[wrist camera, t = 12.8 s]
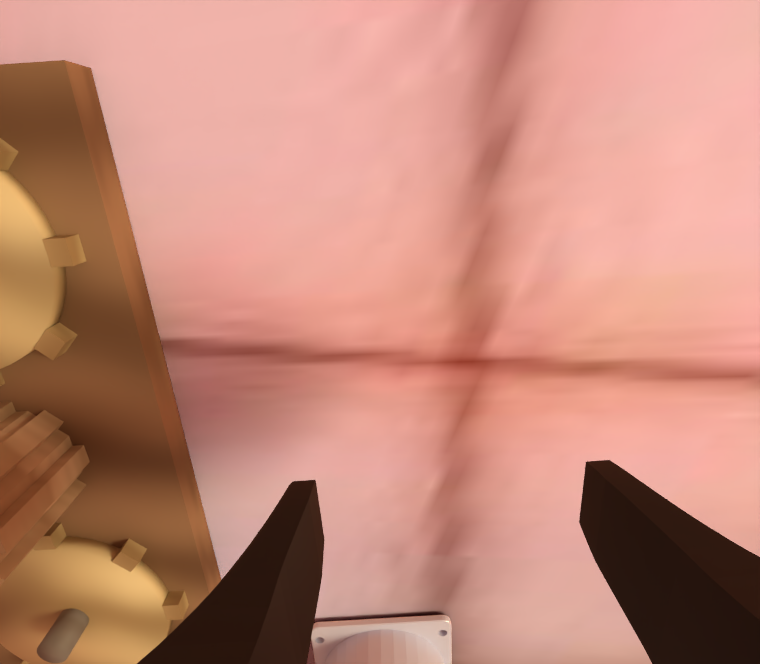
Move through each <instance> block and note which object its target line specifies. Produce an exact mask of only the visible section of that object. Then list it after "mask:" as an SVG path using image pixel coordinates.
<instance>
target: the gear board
mask: <svg viewBox="0 0 760 664" xmlns="http://www.w3.org/2000/svg"><path fill="white" fill-rule="evenodd" d="M9 401H12V403H13V406H14V408H15V411H16V412H19V411H29V412H30V413H32V414H34V415H35V416H37V415H38V414H40V413H41V412H42V411H44V410H45V411H47V412H49V413H50V414H52V415H53V416H55V417H57V418H58V419H60V420H62V421H63V424H62V425H61V426H60V428H59V429H58V430H60V431H62V432H63V433H65V434H67V435H68V436H69V437H70V440H71V443H72V446H75V445H84V447H85V450H86V452H87V455H88V458H89V461H90V462H89V463H88V465H87V466H86V467H85V468H84V469H83V470H82V473H81V474H80V475H79V476H78V478H77V479H78V480H79V481H81V482H83V483H85V484H86V486H85V487H84V489H83V490H82V491H81V492H80V494H79V495H78V496H77V497H76V498H75V500H74V501H73V502H72V503H71V504H70V505H69V507H68V508H67V509H66V510H65V511H64V512H63V514H62V515H61V516H60V517H59V518H58V519H57V521H56V522H55V523H54V524H53V525H52V526H51V528H50V529H49V530H48V531H47V532H46V533H45V535H44V536H43V537H42V538H41V539H40V540H39V542H38V543H37V544H36V545H35V546H34V547H33V549H32V550H31V551H30V552H29V553H28V554H27V555H26V557H25V558H24V559H23V560H22V561H21V562H20V564H19V565H18V566H17V567H16V568H15V569H14V571H13V572H12V573H11V574H10V575H9V576H8V578H7V579H6V580H5V581H4V582H3V583H2V585H1V586H0V664H137V663H138V662H139V661H140V660H141V659H143V658H144V657H145V656H146V655H147V654H148V653H150V652H151V651H152V650H153V649H154V648H155V647H157V646H158V645H159V644H160V643H161V642H162V641H163V640H164V639H165V638H166V637H167V636H168V635H169V634H170V633H172V632H173V631H174V630H175V629H176V628H177V627H178V626H179V625H180V624H181V623H182V622H183V621H184V620H185V619H186V618H187V617H188V616H189V615H190V614H191V613H192V612H193V611H194V610H195V609H196V608H197V607H198V606H199V604H200V603H201V602H202V601H203V600H204V599H205V598H206V597H207V596H208V595H209V594H210V593H211V591H212V590H213V589H214V588H215V587H216V586H217V585H218V584H219V582H220V581H221V577H220V573H219V569H218V565H217V561H216V558H215V554H214V550H213V546H212V542H211V538H210V534H209V530H208V526H207V522H206V518H205V514H204V510H203V507H202V503H201V499H200V495H199V491H198V487H197V483H196V479H195V475H194V471H193V467H192V463H191V459H190V456H189V452H188V448H187V444H186V440H185V436H184V432H183V428H182V424H181V420H180V416H179V412H178V408H177V405H176V401H175V397H174V393H173V389H172V385H171V381H170V377H169V373H168V369H167V365H166V361H165V357H164V354H163V350H162V346H161V342H160V338H159V334H158V330H157V326H156V322H155V318H154V314H153V310H152V306H151V303H150V299H149V295H148V291H147V287H146V283H145V279H144V275H143V271H142V267H141V263H140V259H139V255H138V252H137V248H136V244H135V240H134V236H133V232H132V228H131V224H130V220H129V216H128V212H127V208H126V204H125V200H124V197H123V193H122V189H121V185H120V181H119V177H118V173H117V169H116V165H115V161H114V157H113V153H112V149H111V146H110V142H109V138H108V134H107V130H106V126H105V122H104V118H103V114H102V110H101V106H100V102H99V98H98V95H97V91H96V87H95V83H94V79H93V75H92V71H91V68H88V67H85V66H82V65H78V64H75V63H72V62H68V61H65V60H61V61H47V62H32V63H18V64H3V65H0V402H9Z"/></svg>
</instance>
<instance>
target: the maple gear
mask: <svg viewBox="0 0 760 664" xmlns="http://www.w3.org/2000/svg"><path fill="white" fill-rule="evenodd" d="M62 424H63V421H62V420H60V419H58V418H57V417H55V416H53V415H52V414H50V413H49V412H47V411H45V410H44V411H42V412H41V413H40V414H38V415H37V416H35V415H34V414H32V413H30V412H29V411H19V412H16V411H15V408H14V406H13V403H12V401H9V402H0V586H1V585H2V583H3V582H4V581H5V580H6V579H7V578H8V576H9V575H10V574H11V573H12V572H13V571H14V569H15V568H16V567H17V566H18V565H19V564H20V562H21V561H22V560H23V559H24V558H25V557H26V555H27V554H28V553H29V552H30V551H31V550H32V549H33V547H34V546H35V545H36V544H37V543H38V542H39V540H40V539H41V538H42V537H43V536H44V535H45V533H46V532H47V531H48V530H49V529H50V528H51V526H52V525H53V524H54V523H55V522H56V521H57V519H58V518H59V517H60V516H61V515H62V514H63V512H64V511H65V510H66V509H67V508H68V507H69V505H70V504H71V503H72V502H73V501H74V500H75V498H76V497H77V496H78V495H79V494H80V492H81V491H82V490H83V489H84V487H85V486H86V484H85V483H83V482H81V481H79V480H78V479H77V478H78V476H79V475H80V474H81V473H82V470H83V469H84V468H85V467H86V466H87V465H88V463H89V462H90V461H89V458H88V455H87V452H86V450H85V447H84V445H75V446H72V443H71V440H70V437H69V436H68V435H67V434H65V433H63V432H62V431H60V430H58V429H59V428H60V426H61V425H62Z"/></svg>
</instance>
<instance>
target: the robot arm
mask: <svg viewBox="0 0 760 664" xmlns="http://www.w3.org/2000/svg"><path fill="white" fill-rule="evenodd" d="M579 523H580V525H581V528H582V530H583V533H584V535H585V538H586V540H587V543H588V545H589V548H590V550H591V552H592V554H593V557H594V559H595V561H596V563H597V565H598V567H599V569H600V570H601V572H602V574H603V576H604V578H605V579H606V581H607V583H608V585H609V587H610V588H611V590H612V592H613V594H614V595H615V597H616V599H617V601H618V602H619V604H620V606H621V608H622V610H623V611H624V613H625V615H626V617H627V618H628V620H629V622H630V624H631V625H632V627H633V629H634V631H635V632H636V634H637V636H638V638H639V640H640V641H641V643H642V645H643V647H644V648H645V650H646V652H647V654H648V656H649V658H650V660H651V662H652V664H760V557H759V556H757V555H755V554H753V553H751V552H749V551H748V550H746V549H744V548H742V547H741V546H739V545H737V544H735V543H734V542H732V541H730V540H729V539H727V538H726V537H724V536H722V535H721V534H719V533H717V532H716V531H714V530H713V529H711V528H709V527H708V526H706V525H704V524H703V523H701V522H700V521H698V520H697V519H695V518H694V517H692V516H690V515H689V514H687V513H686V512H684V511H683V510H681V509H680V508H678V507H677V506H675V505H674V504H672V503H671V502H669V501H668V500H667V499H665V498H664V497H662V496H661V495H659V494H658V493H656V492H655V491H654V490H652V489H651V488H649V487H648V486H646V485H645V484H644V483H642V482H641V481H639V480H638V479H636V478H635V477H634V476H632V475H631V474H629V473H628V472H626V471H625V470H623V469H622V468H621V467H619V466H618V465H616V464H614V463H613V462H611V461H610V460H604V461H590V462H586V467H585V476H584V485H583V494H582V503H581V511H580V520H579ZM323 551H324V534H323V528H322V521H321V514H320V507H319V501H318V494H317V487H316V481H315V480H308V481H294V482H292V483H291V484H290V485H289V486H288V488H287V490H286V491H285V493H284V495H283V496H282V498H281V499H280V501H279V503H278V504H277V506H276V507H275V509H274V510H273V512H272V513H271V515H270V516H269V518H268V519H267V521H266V522H265V524H264V525H263V527H262V528H261V529H260V531H259V532H258V534H257V535H256V537H255V538H254V539H253V541H252V542H251V543H250V545H249V546H248V548H247V549H246V550H245V551H244V553H243V554H242V555H241V556H240V558H239V559H238V560H237V562H236V563H235V564H234V565H233V567H232V568H231V569H230V570H229V572H228V573H227V574H226V575H225V576H224V578H223V579H222V580H221V581H220V582H219V584H218V585H217V586H216V587H215V588H214V589H213V590H212V591H211V593H210V594H209V595H208V596H207V597H206V598H205V599H204V600H203V601H202V602H201V603H200V604H199V606H198V607H197V608H196V609H195V610H194V611H193V612H192V613H191V614H190V615H189V616H188V617H187V618H186V619H185V620H184V621H183V622H182V623H181V624H180V625H179V626H178V627H177V628H176V629H175V630H174V631H173V632H172V633H170V634H169V635H168V636H167V637H166V638H165V639H164V640H163V641H162V642H161V643H160V644H159V645H158V646H157V647H155V648H154V649H153V650H152V651H151V652H150V653H148V654H147V655H146V656H145V657H144V658H143V659H141V660H140V661H139V662H138V663H137V664H306V663H307V658H308V652H309V647H310V641H311V642H312V648H313V654H314V660H315V664H452V644H451V621H450V618H449V617H448V616H446V615H428V616H411V617H394V618H377V619H360V620H343V621H326V622H316V623H314V619H315V613H316V608H317V602H318V596H319V590H320V584H321V579H322V566H323Z"/></svg>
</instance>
